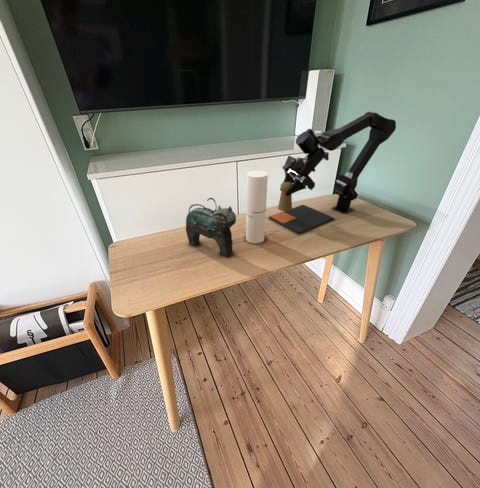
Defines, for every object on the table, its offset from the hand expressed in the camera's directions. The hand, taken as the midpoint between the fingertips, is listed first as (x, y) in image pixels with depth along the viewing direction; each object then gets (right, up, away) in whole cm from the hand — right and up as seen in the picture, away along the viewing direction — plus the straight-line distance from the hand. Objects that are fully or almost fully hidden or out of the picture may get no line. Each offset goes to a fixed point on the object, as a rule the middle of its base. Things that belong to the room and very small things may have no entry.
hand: (283, 192), depth 106 cm
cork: (+2, -5, +5) cm, 7 cm away
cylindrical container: (-12, -20, -5) cm, 24 cm away
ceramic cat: (-29, -25, -11) cm, 39 cm away
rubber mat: (+9, -9, +8) cm, 15 cm away
